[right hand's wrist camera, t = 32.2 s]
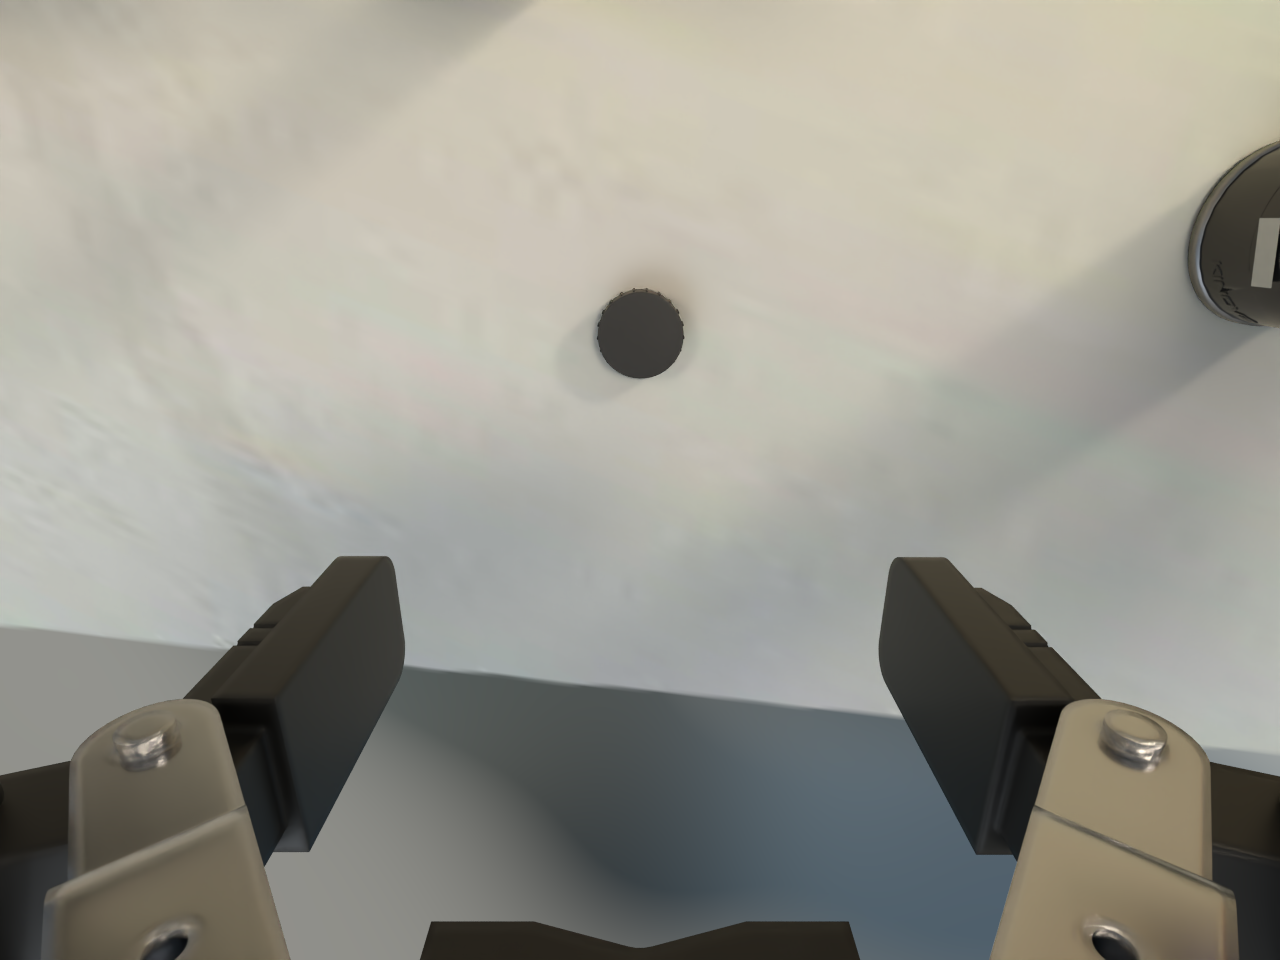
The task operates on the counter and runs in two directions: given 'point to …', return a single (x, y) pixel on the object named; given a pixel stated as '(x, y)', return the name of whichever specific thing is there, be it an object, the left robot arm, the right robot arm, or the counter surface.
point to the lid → (640, 333)
